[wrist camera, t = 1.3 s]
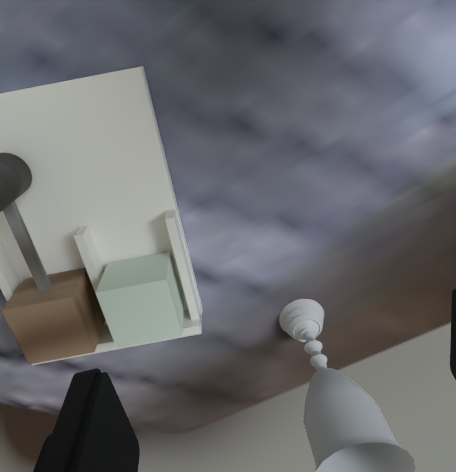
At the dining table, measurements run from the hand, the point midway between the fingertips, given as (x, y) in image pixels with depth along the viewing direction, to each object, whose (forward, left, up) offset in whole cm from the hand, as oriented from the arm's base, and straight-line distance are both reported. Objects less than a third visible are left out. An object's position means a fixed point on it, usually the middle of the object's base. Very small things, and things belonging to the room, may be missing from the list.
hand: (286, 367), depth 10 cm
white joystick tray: (+4, -14, -27) cm, 31 cm away
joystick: (+6, -18, -25) cm, 31 cm away
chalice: (+20, +5, -27) cm, 35 cm away
